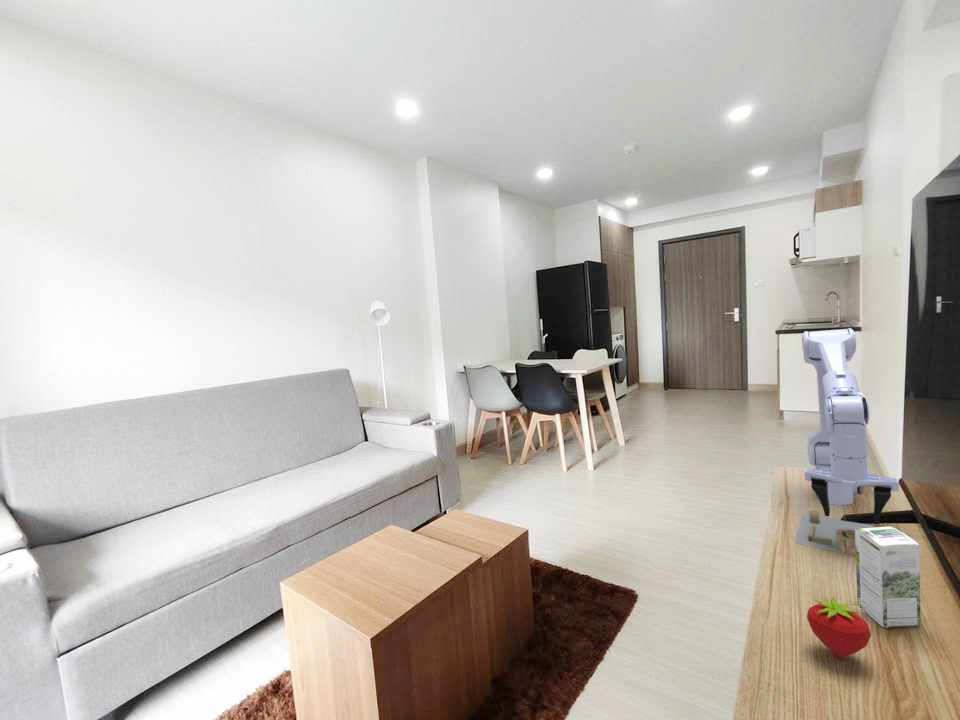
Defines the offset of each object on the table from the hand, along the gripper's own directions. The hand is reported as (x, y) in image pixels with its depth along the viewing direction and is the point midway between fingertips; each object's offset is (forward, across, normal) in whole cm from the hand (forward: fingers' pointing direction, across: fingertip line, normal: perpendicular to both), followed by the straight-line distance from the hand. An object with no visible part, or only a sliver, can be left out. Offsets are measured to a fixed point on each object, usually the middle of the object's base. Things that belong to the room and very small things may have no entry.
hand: (851, 518), depth 91 cm
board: (+7, -3, +5) cm, 9 cm away
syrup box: (+8, +5, -20) cm, 22 cm away
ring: (+7, 0, 0) cm, 7 cm away
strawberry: (+7, -1, -34) cm, 34 cm away
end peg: (+7, 0, 0) cm, 7 cm away
